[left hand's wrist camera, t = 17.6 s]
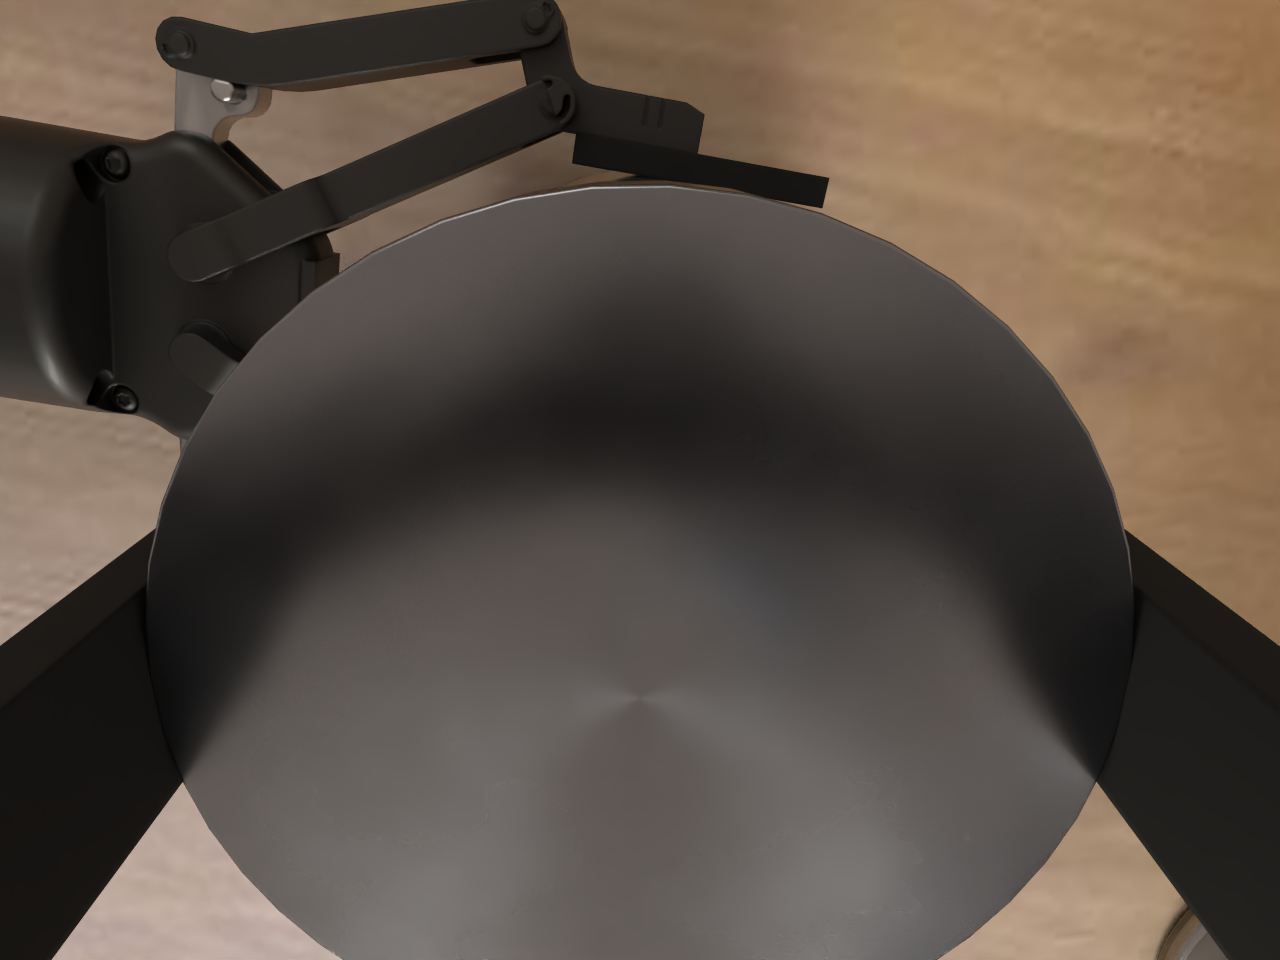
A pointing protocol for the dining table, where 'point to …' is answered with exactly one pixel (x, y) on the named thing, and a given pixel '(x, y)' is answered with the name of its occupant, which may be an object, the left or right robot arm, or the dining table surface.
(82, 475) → the dining table surface
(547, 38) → the right robot arm
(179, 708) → the lid
